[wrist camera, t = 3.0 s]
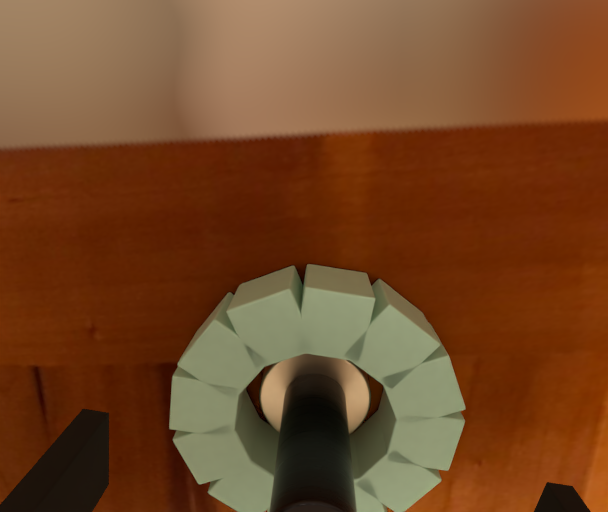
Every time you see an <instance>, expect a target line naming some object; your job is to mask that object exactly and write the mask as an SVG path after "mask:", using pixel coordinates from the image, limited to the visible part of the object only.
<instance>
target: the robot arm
mask: <svg viewBox="0 0 608 512" xmlns="http://www.w3.org/2000/svg"><path fill="white" fill-rule="evenodd" d="M108 485H109V413H106V412H100V411H93V410H87V409H82V411H81V412H80V413H79V414H78V415H77V416H76V418H75V419H74V420H73V421H72V422H71V423H70V425H69V426H68V427H67V428H66V429H65V430H64V432H63V433H62V434H61V435H60V436H59V437H58V438H57V440H56V441H55V442H54V443H53V444H52V445H51V447H50V448H49V449H48V450H47V451H46V452H45V454H44V455H43V456H42V457H41V458H40V459H39V460H38V462H37V463H36V464H35V465H34V466H33V467H32V469H31V470H30V471H29V472H28V473H27V474H26V476H25V477H24V478H23V479H22V480H21V481H20V483H19V484H18V485H17V486H16V487H15V488H14V489H13V491H12V492H11V493H10V494H9V495H8V496H7V498H6V499H5V500H4V501H3V502H2V503H1V505H0V512H92V511H93V509H94V508H95V506H96V504H97V503H98V501H99V499H100V498H101V496H102V495H103V493H104V491H105V490H106V488H107V486H108ZM534 512H590V510H589V509H588V508H587V506H586V505H585V503H584V502H583V500H582V499H581V498H580V496H579V495H578V493H577V492H576V491H575V489H574V488H573V486H568V485H561V484H555V483H549V482H547V484H546V486H545V488H544V490H543V493H542V495H541V497H540V499H539V502H538V504H537V506H536V508H535V511H534Z"/></svg>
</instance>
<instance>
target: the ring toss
mask: <svg viewBox="0 0 608 512" xmlns="http://www.w3.org/2000/svg"><path fill="white" fill-rule="evenodd" d="M259 401H260V406H261V409H262V412H263V414H264V416H265V418H266V419H267V421H268V422H269V423H270V425H271V426H272V427H273V428H274V429H275V430H276V431H278V432H279V433H280V434H279V441H278V449H277V457H276V464H275V472H274V480H273V488H272V495H271V503H270V511H269V512H357V508H356V498H355V488H354V478H353V468H352V458H351V448H350V438H349V435H350V434H351V433H353V432H354V431H355V430H356V429H357V428H358V427H359V426H360V425H361V424H362V422H363V421H364V420H365V418H366V416H367V414H368V411H369V408H370V403H371V391H370V385H369V380H368V376H367V373H366V372H365V371H364V370H362V369H361V368H359V367H358V366H357V365H355V364H354V363H353V362H351V361H350V360H343V359H337V358H330V357H324V356H317V355H311V354H302V355H299V356H296V357H293V358H290V359H287V360H284V361H281V362H278V363H275V364H271V365H268V366H266V367H265V369H264V372H263V376H262V381H261V385H260V390H259Z"/></svg>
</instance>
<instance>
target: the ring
mask: <svg viewBox="0 0 608 512" xmlns="http://www.w3.org/2000/svg"><path fill="white" fill-rule="evenodd" d="M302 354H311V355H317V356H324V357H330V358H337V359H343V360H350V361H351V362H353V363H354V364H355V365H357V366H358V367H359V368H361V369H362V370H364V371H365V372H366V373H368V374H369V375H370V376H372V377H373V378H374V379H376V380H377V381H378V382H380V383H381V384H382V385H383V387H384V389H383V393H382V397H381V401H380V404H379V408H378V410H377V411H376V412H375V413H374V414H373V415H372V416H371V417H370V418H369V419H368V420H367V421H366V422H365V423H364V424H362V425H361V426H360V427H359V428H358V429H357V430H356V431H355V432H353V433H351V434H350V435H349V438H350V448H351V458H352V468H353V478H354V488H355V498H356V508H357V512H388V511H387V507H388V508H390V509H391V510H393V511H394V512H404V511H406V510H407V509H408V508H409V507H410V506H412V505H413V504H414V503H415V502H417V501H418V500H419V499H420V498H421V497H423V496H424V495H425V494H426V493H427V492H429V491H430V490H431V489H432V488H434V487H435V486H436V485H437V484H438V483H440V482H441V477H440V474H439V471H438V469H439V470H445V471H448V470H449V468H450V465H451V462H452V459H453V456H454V453H455V450H456V447H457V444H458V441H459V438H460V435H461V432H462V429H463V427H464V424H465V420H464V418H463V416H462V414H461V412H460V411H462V410H465V408H466V407H465V404H464V401H463V398H462V395H461V392H460V389H459V386H458V382H457V379H456V376H455V373H454V370H453V367H452V364H451V360H450V357H449V355H448V353H447V351H446V350H445V348H444V346H443V345H442V343H441V341H440V339H439V338H438V336H437V334H436V332H435V331H434V329H433V327H432V326H431V324H430V323H428V321H427V320H426V318H425V316H424V314H423V313H422V312H421V311H420V310H419V309H417V308H416V307H415V306H414V305H412V304H411V303H410V302H409V301H407V300H406V299H405V298H403V297H402V296H401V295H400V294H398V293H397V292H396V291H395V290H393V289H392V288H391V287H390V286H388V285H387V284H386V283H385V282H383V281H382V280H381V279H378V280H377V281H376V282H375V283H374V284H373V285H372V286H371V284H370V281H369V278H368V275H367V273H364V272H357V271H351V270H345V269H338V268H332V267H326V266H319V265H313V264H307V266H306V272H305V278H304V284H302V282H301V280H300V277H299V275H298V272H297V270H296V268H295V266H290V267H287V268H284V269H281V270H279V271H276V272H273V273H270V274H267V275H265V276H262V277H259V278H256V279H254V280H251V281H248V282H245V283H242V284H240V285H239V287H238V289H237V291H236V293H235V295H233V294H232V293H230V292H229V293H227V295H226V296H225V297H224V298H223V299H222V301H221V302H220V303H219V304H218V306H217V307H216V308H215V309H214V311H213V312H212V313H211V314H210V316H209V317H208V318H207V319H206V321H205V322H204V323H203V324H202V325H201V327H200V328H199V329H198V330H197V332H196V334H195V335H194V337H193V338H192V340H191V342H190V343H189V345H188V347H187V348H186V350H185V352H184V353H183V355H182V357H181V358H180V360H179V362H178V368H177V369H176V371H175V373H174V374H173V376H172V387H171V404H170V421H169V429H173V430H177V431H176V433H175V435H174V437H173V442H174V444H175V446H176V447H177V449H178V451H179V452H180V454H181V456H182V457H183V459H184V461H185V462H186V464H187V466H188V468H189V469H190V471H191V473H192V474H193V476H194V478H195V479H196V481H197V483H198V484H204V483H207V482H211V483H210V486H209V490H208V493H209V494H210V495H211V496H213V497H215V498H216V499H218V500H219V501H221V502H223V503H224V504H226V505H227V506H229V507H231V508H232V509H234V510H236V511H237V512H265V511H266V510H267V512H269V511H270V503H271V495H272V488H273V480H274V472H275V464H276V457H277V449H278V441H279V434H280V433H279V432H278V431H276V430H275V429H274V428H273V427H272V426H271V425H269V424H268V423H266V422H265V421H263V420H262V419H260V417H259V415H258V413H257V411H256V409H255V407H254V405H253V403H252V401H251V399H250V397H249V395H248V393H247V391H246V387H247V386H248V385H249V384H250V382H251V381H252V380H253V379H254V378H255V377H256V376H257V375H258V374H259V372H260V371H261V370H262V369H263V368H264V367H265V366H268V365H271V364H275V363H278V362H281V361H284V360H287V359H290V358H293V357H296V356H299V355H302Z"/></svg>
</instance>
